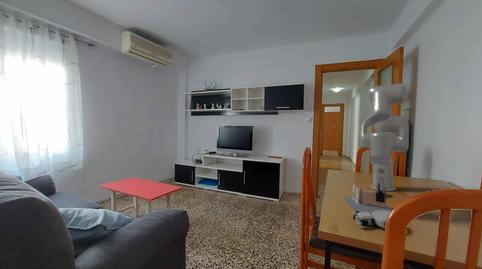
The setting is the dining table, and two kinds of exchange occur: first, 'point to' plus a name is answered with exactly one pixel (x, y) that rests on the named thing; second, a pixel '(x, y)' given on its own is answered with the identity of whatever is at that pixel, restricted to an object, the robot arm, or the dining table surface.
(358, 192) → the fixed fence panel
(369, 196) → the folding fence panel
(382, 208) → the board
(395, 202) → the dining table surface
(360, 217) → the robot toy
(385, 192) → the black block
